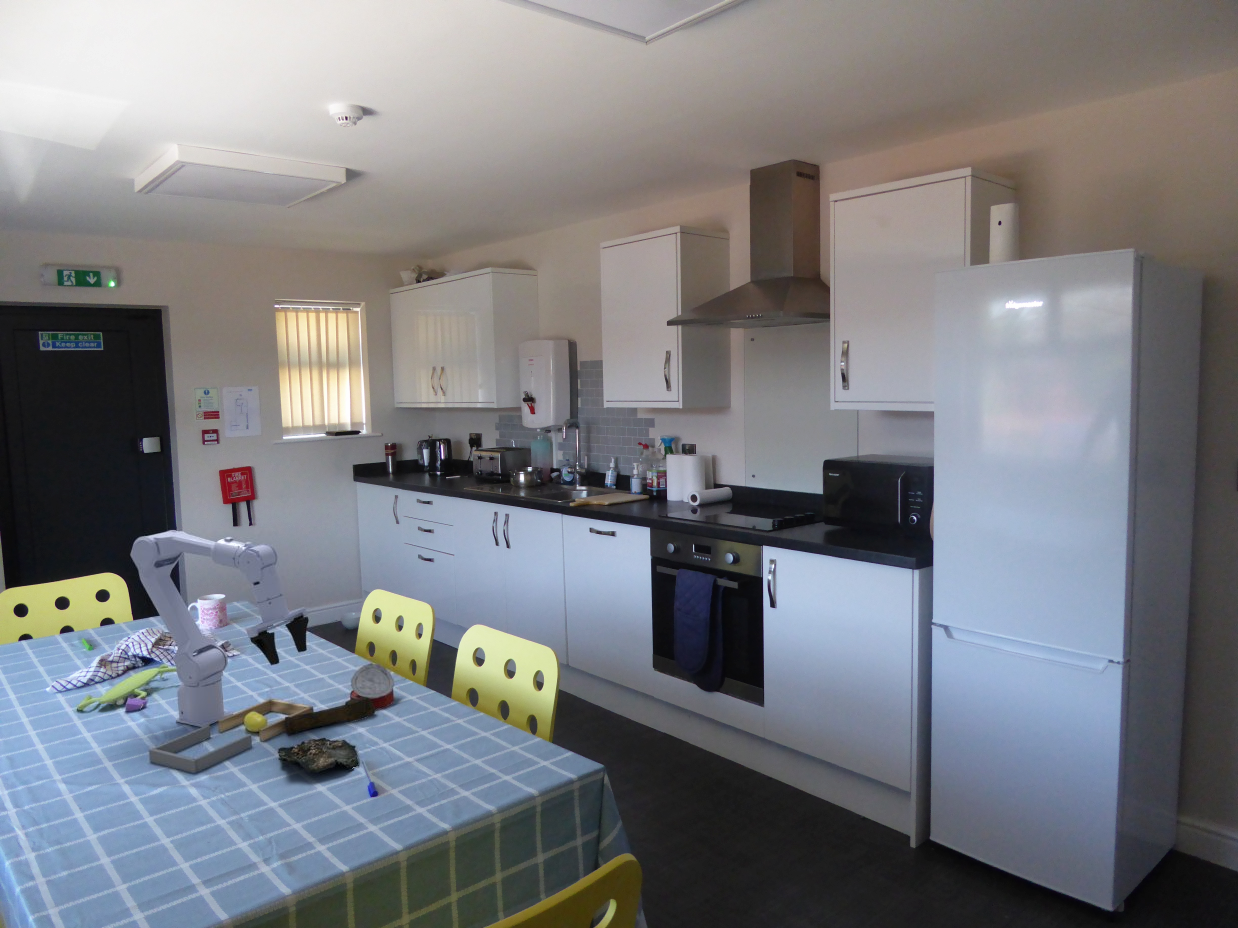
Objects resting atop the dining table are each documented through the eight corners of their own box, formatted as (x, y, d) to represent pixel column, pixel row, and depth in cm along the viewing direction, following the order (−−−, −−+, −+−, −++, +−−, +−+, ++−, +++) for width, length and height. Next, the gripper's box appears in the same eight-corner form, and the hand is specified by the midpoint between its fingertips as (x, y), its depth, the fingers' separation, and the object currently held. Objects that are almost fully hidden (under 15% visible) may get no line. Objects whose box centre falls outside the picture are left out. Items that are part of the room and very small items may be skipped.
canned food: (391, 714, 199) (409, 678, 199) (375, 727, 189) (394, 688, 189) (351, 692, 200) (369, 656, 200) (332, 704, 190) (351, 665, 190)
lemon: (260, 722, 185) (258, 705, 185) (271, 732, 179) (270, 715, 179) (240, 727, 182) (239, 710, 182) (251, 738, 176) (250, 720, 176)
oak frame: (218, 731, 180) (217, 720, 180) (271, 708, 193) (270, 698, 192) (262, 741, 174) (261, 729, 174) (313, 717, 187) (313, 706, 186)
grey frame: (149, 761, 166) (148, 749, 166) (208, 736, 178) (207, 725, 178) (194, 773, 160) (193, 760, 160) (252, 746, 172) (251, 734, 172)
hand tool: (287, 738, 176) (285, 717, 176) (284, 731, 180) (283, 711, 179) (377, 719, 185) (376, 699, 184) (373, 713, 188) (372, 693, 188)
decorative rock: (260, 739, 166) (333, 713, 176) (266, 768, 167) (338, 740, 176) (293, 763, 152) (370, 733, 161) (299, 795, 152) (375, 763, 162)
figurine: (218, 683, 213) (216, 662, 213) (117, 721, 189) (115, 697, 189) (170, 675, 221) (168, 654, 221) (68, 710, 197) (65, 688, 197)
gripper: (254, 605, 173) (274, 667, 173) (308, 585, 186) (326, 643, 186) (233, 611, 176) (252, 671, 177) (287, 591, 189) (305, 647, 189)
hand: (289, 657), depth 182 cm, fingers open, 7 cm apart
